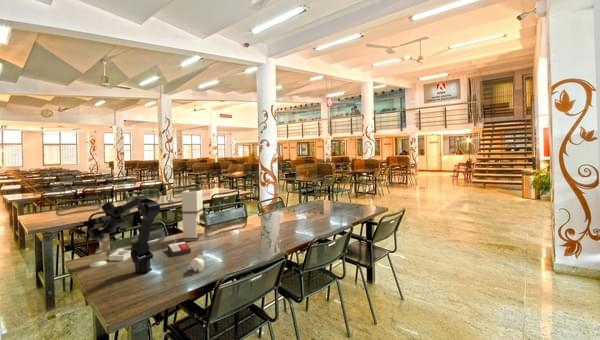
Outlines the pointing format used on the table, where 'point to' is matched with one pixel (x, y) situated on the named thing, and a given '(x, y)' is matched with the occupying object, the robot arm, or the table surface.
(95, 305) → the table surface
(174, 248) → the calculator
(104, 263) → the coaster
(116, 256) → the pocket
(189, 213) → the tall white pillar
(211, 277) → the table surface
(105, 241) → the peg
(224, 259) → the table surface
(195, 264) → the white rounded lump
